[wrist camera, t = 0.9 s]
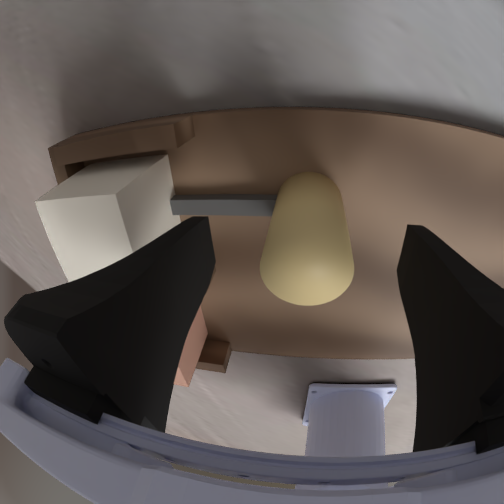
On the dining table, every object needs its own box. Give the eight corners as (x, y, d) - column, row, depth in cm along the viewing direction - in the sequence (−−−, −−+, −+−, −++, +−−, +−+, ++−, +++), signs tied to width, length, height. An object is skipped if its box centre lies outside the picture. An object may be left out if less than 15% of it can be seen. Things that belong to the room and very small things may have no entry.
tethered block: (337, 249, 14) (343, 326, 10) (113, 240, 17) (66, 294, 13) (345, 151, 12) (364, 201, 8) (90, 164, 14) (27, 207, 10)
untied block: (207, 333, 20) (188, 387, 17) (146, 324, 21) (121, 370, 17) (193, 278, 17) (165, 337, 14) (124, 272, 18) (90, 321, 15)
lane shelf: (476, 344, 18) (486, 373, 16) (142, 326, 23) (127, 354, 21) (553, 153, 9) (584, 174, 6) (76, 134, 14) (41, 151, 12)
